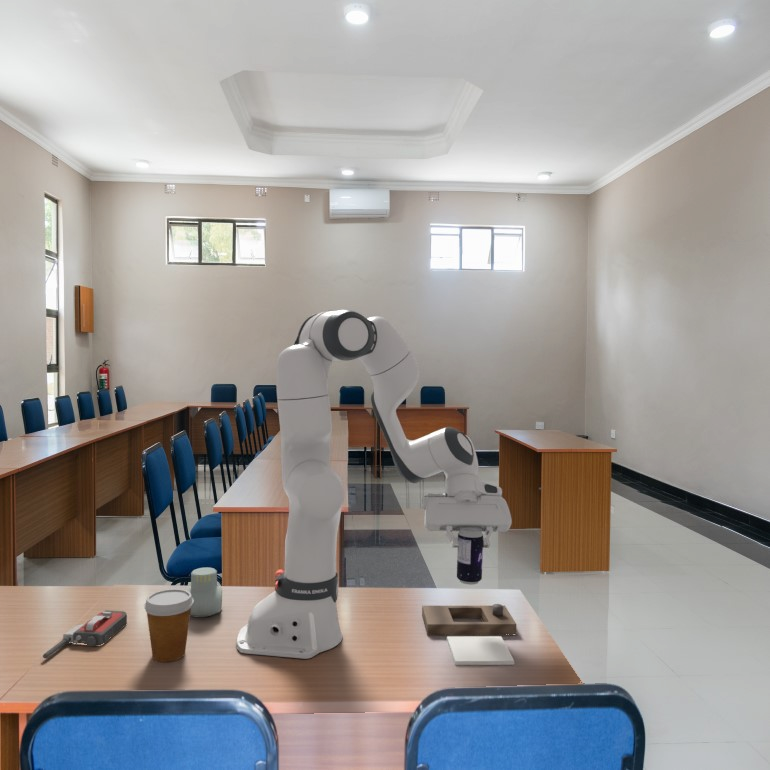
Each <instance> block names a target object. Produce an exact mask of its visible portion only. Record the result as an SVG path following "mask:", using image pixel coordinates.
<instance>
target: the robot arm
mask: <svg viewBox="0 0 770 770" xmlns="http://www.w3.org/2000/svg"><path fill="white" fill-rule="evenodd" d="M354 360H358V361H360V362H361V364H362V365H363V367H364V369H365V370H366V372H367V374H368V375H369V376H370V378H371V381H372V384H373V391H372V393H371V395H370V402H371V406H372V410H373V413H374V415H375V418H376V420H377V423H378V425H379V427H380V430H381V432H382V434H383V437H384V439H385V442H386V443H387V446H388V448H389V451H390V455H391V456H392V461H393V464H394V467H395V469H396V472H397V474H398V475H399V477H400V478H401V479H403V480H404V481H407V482H409V483H412V484H417V483H419V482H422V481H425V480H426V479H428V478H430V477H432V476H435V475H438V474H439V473H444V476H445V481H444V490H445V493H427V494H426V495H423V497H422V499H421V505H422V508H423V510H425V512H424V520H423V521H424V528H425V529H426V530H427V531H428V532H444V535H445V536H446V537H447V539H448V540H449V542H450V546H451V547H450V548H457V549H458V546H459V542H458V540H459V539H458V536H457V537H456V536H455V535H454V534H453V532H459V531H460V528H461V527H477V528H480V529H481V530H482V531H481V532H482V533H484V536H486V537H483V549H489V548H490V547H491V546H490V545H491V542H490V539H491V537H492V533H493V532H495V533H496V532H500V533H504V532H505V533H506V532H508V531H509V530H510V529H511V526H512V524H513V523H512V522H513V521H512V515H511V511H510V508H509V505H508V502H507V501H506V499H505V498H504V497H503V496H502V495H503V489H502V488H501V487H500V486H498V485H494V484H491V483H488V482H485V481H482V480H481V478H480V476H479V470H480V469H479V460H478V456H477V453H476V448H475V446H474V443H473V441H472V440H471V438H470V437H469V436H468V435H466V434H465V433H463V431H460V430H458V429H456V428H454V427H451V426H447V427H442V428H439V429H438V430H435V431H433V432H431V433H429V434H426V435H424V436H421V437H419V438H416V439H413V440H412V439H408V438H407V436H406V435H405V432H404V430H403V427H402V425H401V422H400V419H399V418H398V415H397V409H398V407H399V406H401V404H402V403H403V402H404V401H405V400H407V398H408V397H409V396H410V394H411V393H412V392H413V391H414V389H415V387H416V386H417V385H418V384H417V383H418V381H419V378H420V367H419V364H418V361H417V359H416V357H415V355H414V354H413V352H412V350H411V348H410V347H409V346H408V344H407V342H406V341H405V339H404V338H403V337H402V335H401V333H399V331H398V330H397V329H396V328H395V326H394V325H392V323H391V322H390V321H389V320H388V319H387V318H385V317H383V316H380V315H379V316H378V315H377V316H370V317H365V316H363V314H361V313H359V312H357V311H355V310H350V309H340V310H331V309H330V310H327V311H322V312H319V313H316V314H312V315H311V316H309V317H307V318H306V319H305V320H304V321H303V322H302V324H301V325H300V328H299V330H298V333H297V337H296V340H294V343H293V345H291V346H288V347H286V348H285V349H283V350H282V351H281V352H280V353H279V355H278V358H277V365H276V399H277V401H276V402H277V410H278V419H279V421H278V422H279V429H280V430H279V433H280V460H281V461H280V464H281V480H282V488H283V491H284V493H285V494H286V497H288V502H289V504H288V505H289V509H288V520H287V527H286V535H285V537H284V539H285V541H284V570H283V569H277V571H275V574H274V579H275V580H274V591H273V592H271V593H270V594H269V595H267V596H266V597H264V598H263V599H262V600H260V601H259V602H257V603H256V604H255V606H254V607H253V608H252V610H251V613H250V615H249V618H248V622H247V623H246V624H245V625H244V626H242V627H241V628H240V630H239V632H238V634H237V637H236V643H235V644H236V649H237V651H239V652H240V653H242V654H249V655H260V656H272V657H280V658H281V657H283V658H291V659H292V658H295V659H305V660H307V659H312V658H313V657H315V656H316V655H318V654H319V653H322V652H325V651H328V650H331V649H333V648H335V647H336V646H338V645H339V644H340V643H341V641H342V639H343V634H342V631H341V627H340V621H339V614H338V608H337V607H338V606H337V600H338V597H339V577H338V572H337V543H338V541H337V540H338V539H337V538H338V533H339V532H338V531H339V526H340V521H341V516H342V515H341V513H342V507H343V504H344V500H345V489H344V484H343V481H342V479H341V477H340V475H339V474H338V473H337V472H336V471H335V470H334V469H333V468H332V463H331V447H332V443H331V442H332V434H333V421H332V412H331V411H332V410H331V402H330V400H331V399H330V392H329V391H330V390H329V382H328V378H329V376H328V375H329V370H330V367H331V365H332V363H335V362H343V361H344V362H345V361H354Z"/></svg>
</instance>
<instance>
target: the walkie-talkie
mask: <svg viewBox="0 0 770 770" xmlns="http://www.w3.org/2000/svg"><path fill="white" fill-rule="evenodd" d="M127 623H128V614H127V613H126V611H124V610H122V611H121V610H104V611H101V612H99V613H98V614H96V615H95V616H93V617H91V619H90V620H88V621H87V622H84V623H82V624H78V625H75V626H73V627H72V628H71V629H69V630H68V631H67V632H65V633H63V635H62V640H60V641H59V642H58V643H56V644H55V645H54V646H53V647H51V648H50V649H48V651H46V652H45V653H43V655H42V658H44V659H48V658H49V657H51V656H52V655H53V654H54V653H56V652H57V651H58V650H59V649H61V648H62V647H64V646H65V645H67V644H70V643H69V642H73V643H76V644H77V643H84V644H87V645H88V646H89V647H90V646H91V647H95V646H94V645H101V644H103V643H105V642H106V641H107V640H108V639H109V638H110V637H112V636H113V635H114V634H115V633H116V632H117V631H118V632H120V631H121V630H122V629H123V628H124V627H123V626H125V625H126V624H127ZM127 625H128V624H127ZM127 625H126V626H127ZM126 626H125V627H126ZM122 627H123V628H122ZM121 628H122V629H121ZM120 629H121V630H120ZM119 630H120V631H119ZM118 632H117V633H118ZM117 633H116V634H117ZM116 634H115V635H116ZM115 635H114V636H115ZM114 636H113V637H114ZM113 637H112V638H113ZM108 641H109V640H108ZM108 641H107V642H108ZM107 642H106V643H107ZM73 643H72V644H71V645H73ZM106 643H105V644H106Z"/></svg>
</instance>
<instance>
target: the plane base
mask: <svg viewBox="0 0 770 770" xmlns="http://www.w3.org/2000/svg"><path fill="white" fill-rule="evenodd" d="M421 607H422V609H421V616H422V621H423V625H424V628H425V632H426V636H513V635H512V634H516V635H517V623H516V621H515V619H514V618H513V616H512V614H511V613H510V611H509V610H508V608H507V607H506V605H503V604H499V603H495V604H492V605H421ZM454 619H481V621H454ZM506 634H507V635H506ZM508 634H509V635H508ZM510 634H511V635H510Z"/></svg>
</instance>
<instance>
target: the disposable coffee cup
mask: <svg viewBox="0 0 770 770" xmlns="http://www.w3.org/2000/svg"><path fill="white" fill-rule="evenodd" d="M187 590H188V589H182V588H181V589H180V588H170V589H162V590H159V591H155V592H153V593H151V594H149V595H148V596H147V597H146V601H145V602H144V605H143V607H144V609H145V612H146V617H147V625H148V632H149V633H148V634H149V639H150V647H151V654H152V659H153V660H154V661H156V662H159V661H160V663H168V662H167V661H169V662H174V661H176V660H180V659H181V658H182V656H183V655H184V656H185V654H186V649H187V641H188V633H189V625H190V617H191V615H190V612H191V607H192V604H193V602H194V599H193V598H192V595H191V593H190V592H189V591H187ZM184 656H183V657H184ZM173 660H174V661H173Z"/></svg>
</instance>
